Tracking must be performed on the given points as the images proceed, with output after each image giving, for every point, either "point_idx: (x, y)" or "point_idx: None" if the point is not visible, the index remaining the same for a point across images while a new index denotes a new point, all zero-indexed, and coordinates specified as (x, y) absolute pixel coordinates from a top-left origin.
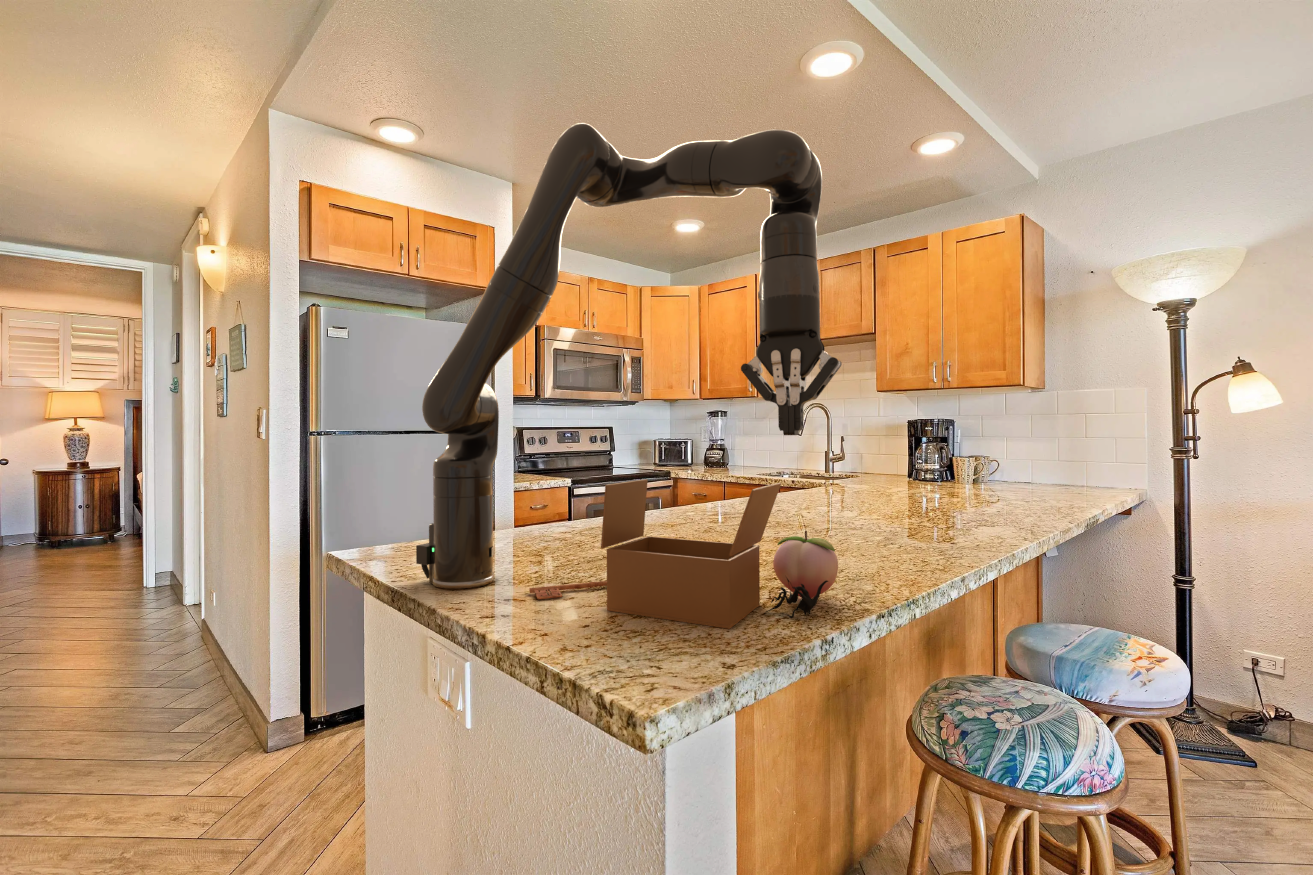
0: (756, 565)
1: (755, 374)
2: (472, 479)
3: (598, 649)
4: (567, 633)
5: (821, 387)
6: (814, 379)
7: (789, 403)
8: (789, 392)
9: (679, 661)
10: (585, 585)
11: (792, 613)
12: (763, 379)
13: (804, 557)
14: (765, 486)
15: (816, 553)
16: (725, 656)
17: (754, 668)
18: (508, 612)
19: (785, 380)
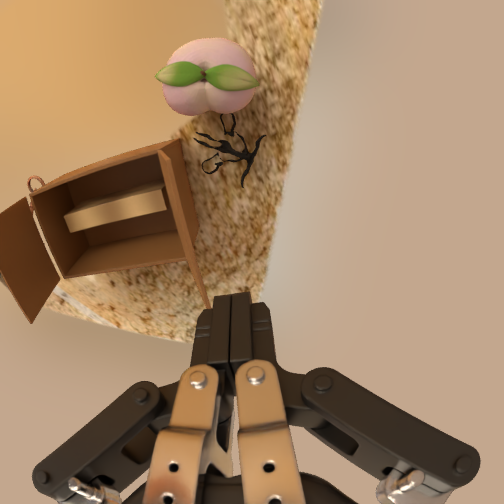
0: (170, 157)
1: (122, 488)
2: None
3: (158, 310)
4: (118, 300)
5: (367, 408)
6: (349, 458)
7: (228, 386)
8: (217, 417)
9: (213, 300)
10: (32, 214)
11: (232, 161)
12: (109, 463)
13: (219, 109)
14: (193, 258)
15: (235, 101)
16: (233, 278)
17: (261, 285)
18: (58, 289)
19: (224, 473)
